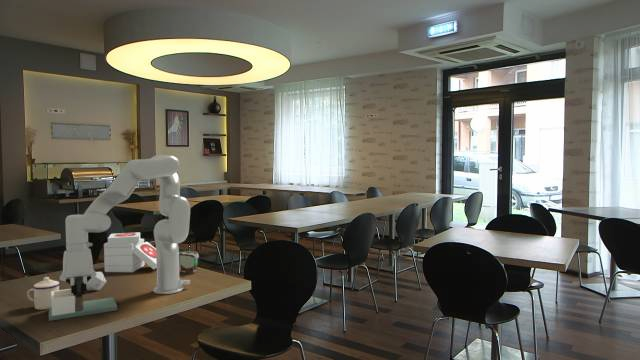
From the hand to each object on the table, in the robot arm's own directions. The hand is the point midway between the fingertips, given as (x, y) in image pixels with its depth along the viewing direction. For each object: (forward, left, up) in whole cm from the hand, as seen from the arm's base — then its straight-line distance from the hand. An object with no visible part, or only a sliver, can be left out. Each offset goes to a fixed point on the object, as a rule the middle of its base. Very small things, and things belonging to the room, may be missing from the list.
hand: (79, 293), depth 180 cm
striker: (0, 0, -5) cm, 5 cm away
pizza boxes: (-30, -63, -7) cm, 70 cm away
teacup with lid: (+12, -14, -7) cm, 19 cm away
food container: (-54, -40, -7) cm, 68 cm away
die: (-8, -29, -7) cm, 31 cm away
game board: (-1, 0, -7) cm, 7 cm away
